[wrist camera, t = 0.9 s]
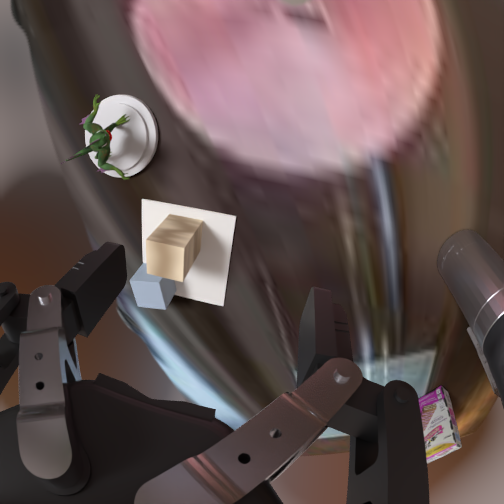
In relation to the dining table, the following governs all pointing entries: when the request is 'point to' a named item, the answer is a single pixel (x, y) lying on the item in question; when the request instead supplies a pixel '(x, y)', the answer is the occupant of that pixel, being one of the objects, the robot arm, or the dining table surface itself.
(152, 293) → the slate cube
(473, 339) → the coffee box
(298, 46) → the dining table surface
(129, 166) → the monster figurine
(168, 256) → the birch block
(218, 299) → the white mat
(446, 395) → the candy bar box
